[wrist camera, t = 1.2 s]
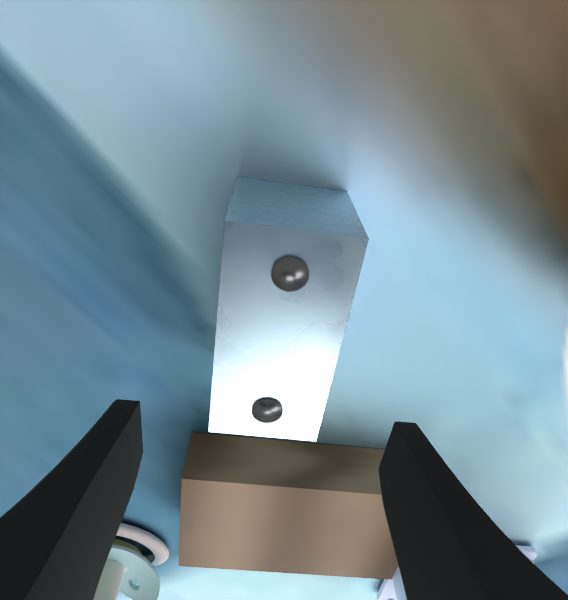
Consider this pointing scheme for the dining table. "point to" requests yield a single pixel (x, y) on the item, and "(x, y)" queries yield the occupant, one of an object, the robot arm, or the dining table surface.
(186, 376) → the dining table surface
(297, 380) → the block
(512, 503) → the dining table surface
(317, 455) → the stand
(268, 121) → the dining table surface
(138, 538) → the pacifier
